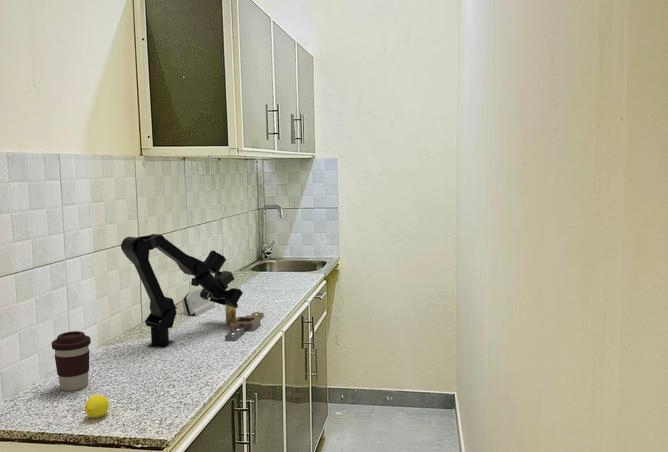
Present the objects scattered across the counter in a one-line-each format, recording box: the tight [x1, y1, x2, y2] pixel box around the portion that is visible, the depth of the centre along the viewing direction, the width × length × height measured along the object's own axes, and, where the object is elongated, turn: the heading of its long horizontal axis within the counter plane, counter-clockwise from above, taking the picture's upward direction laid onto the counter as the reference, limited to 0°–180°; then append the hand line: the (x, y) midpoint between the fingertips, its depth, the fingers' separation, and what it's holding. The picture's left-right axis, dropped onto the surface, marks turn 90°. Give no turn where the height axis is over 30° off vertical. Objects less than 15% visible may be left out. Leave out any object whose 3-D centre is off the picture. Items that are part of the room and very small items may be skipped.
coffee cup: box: [51, 330, 92, 392], centre depth 167 cm, size 10×10×15 cm
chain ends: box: [224, 311, 265, 342], centre depth 223 cm, size 33×9×3 cm, turn 169°
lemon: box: [84, 394, 110, 419], centre depth 147 cm, size 7×5×5 cm
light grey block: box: [181, 288, 216, 317], centre depth 249 cm, size 17×5×10 cm, turn 164°
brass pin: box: [224, 305, 237, 326], centre depth 228 cm, size 4×4×12 cm
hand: (233, 306), depth 229 cm, fingers closed on brass pin, 4 cm apart
